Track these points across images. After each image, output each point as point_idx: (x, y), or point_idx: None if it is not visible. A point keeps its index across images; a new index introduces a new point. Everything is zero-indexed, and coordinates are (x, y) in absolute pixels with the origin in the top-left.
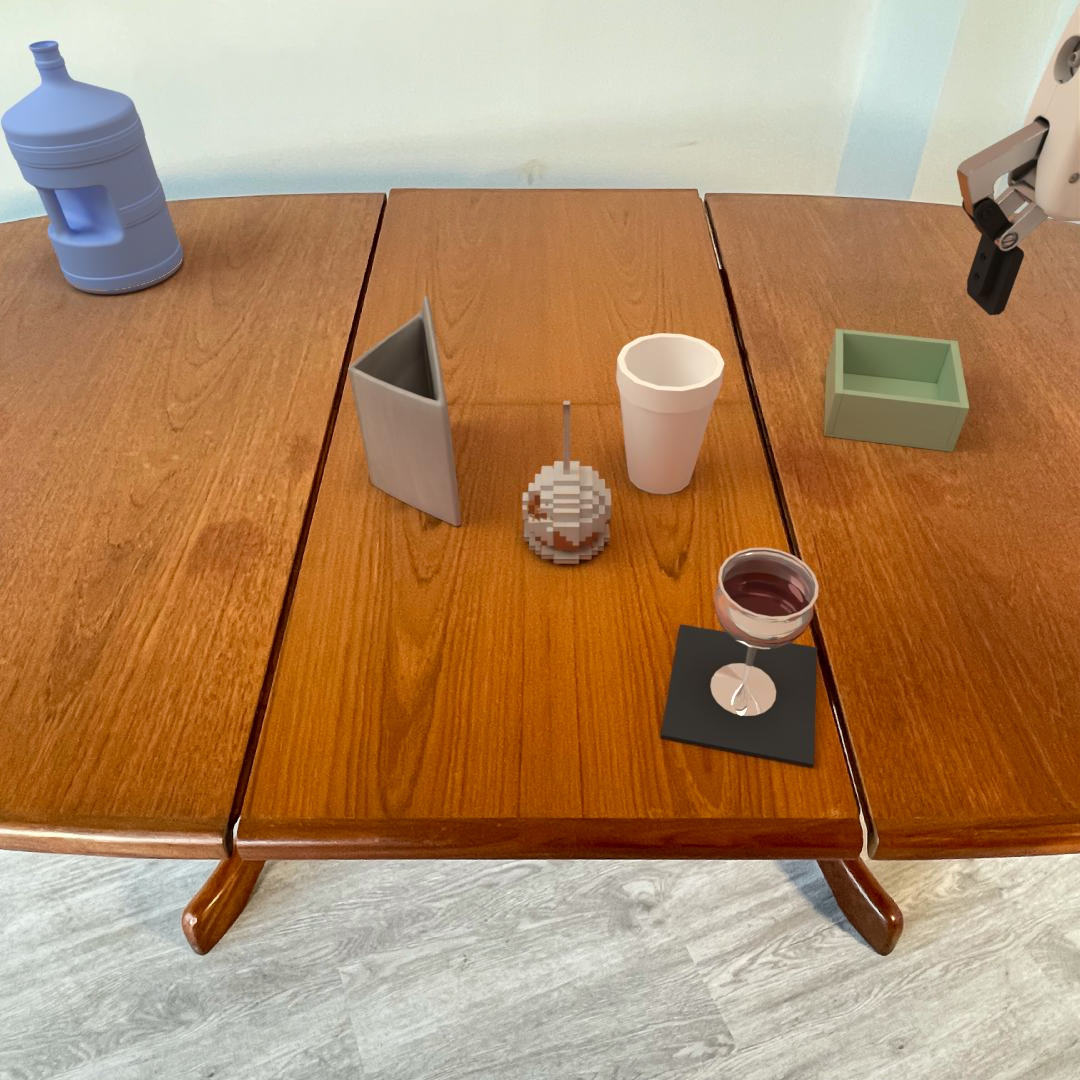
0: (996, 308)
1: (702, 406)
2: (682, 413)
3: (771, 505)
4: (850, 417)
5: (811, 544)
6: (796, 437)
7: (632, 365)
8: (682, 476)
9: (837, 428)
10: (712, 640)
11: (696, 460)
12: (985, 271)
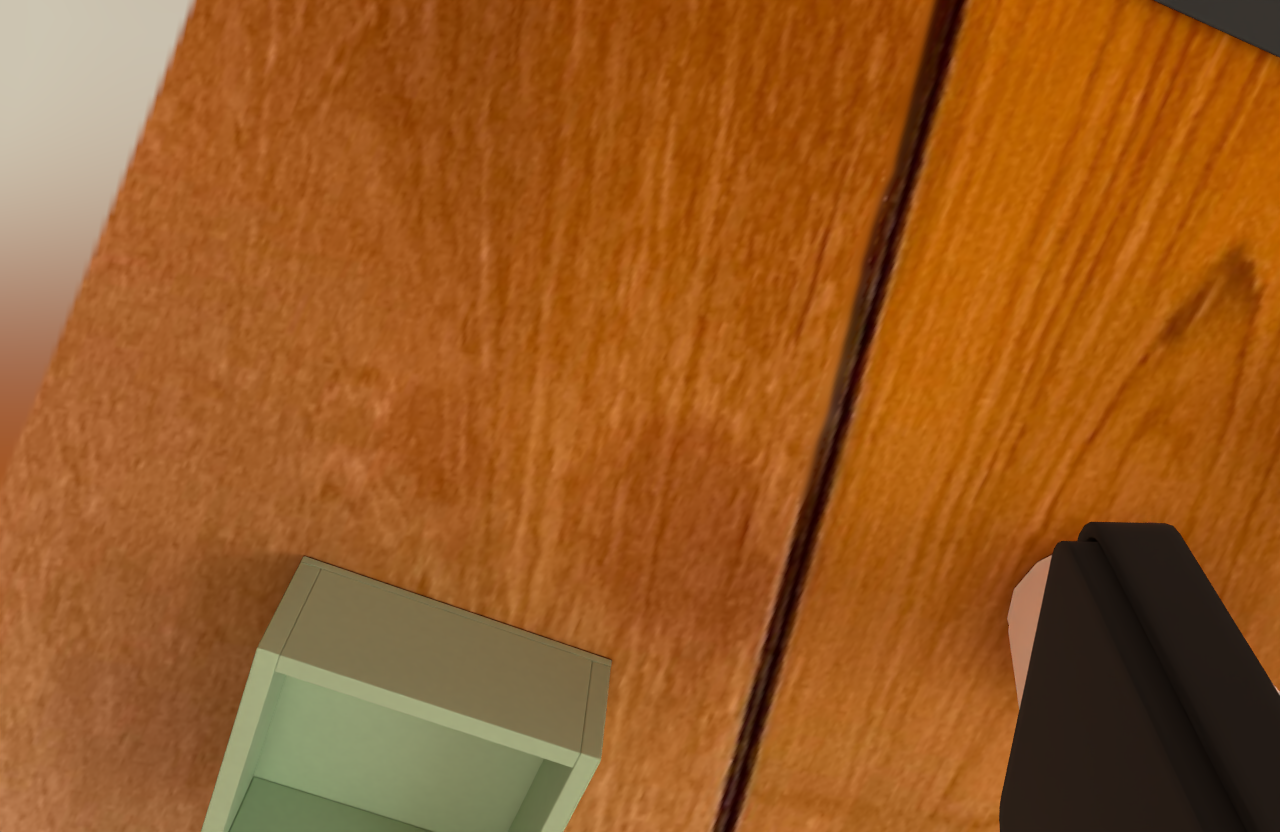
0: (1178, 552)
1: None
2: None
3: (856, 459)
4: (556, 689)
5: (815, 310)
6: (683, 667)
7: None
8: None
9: (583, 670)
10: (1272, 3)
11: (1027, 617)
12: None
